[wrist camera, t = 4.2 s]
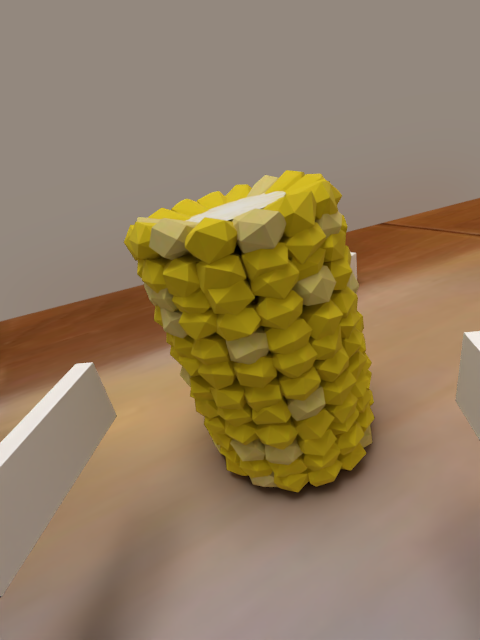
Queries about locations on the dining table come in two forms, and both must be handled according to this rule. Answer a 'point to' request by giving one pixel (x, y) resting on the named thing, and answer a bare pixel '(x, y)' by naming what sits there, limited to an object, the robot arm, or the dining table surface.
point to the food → (264, 325)
